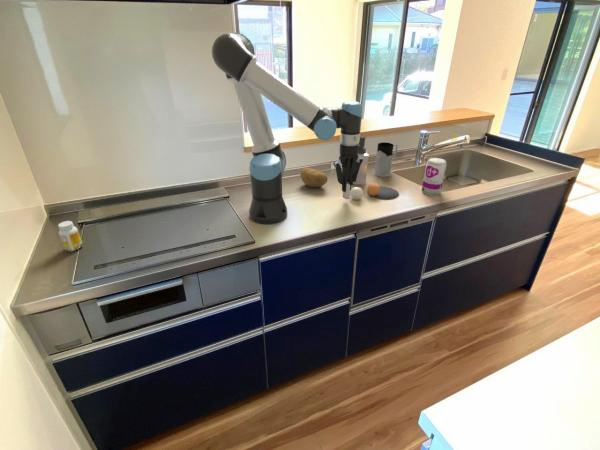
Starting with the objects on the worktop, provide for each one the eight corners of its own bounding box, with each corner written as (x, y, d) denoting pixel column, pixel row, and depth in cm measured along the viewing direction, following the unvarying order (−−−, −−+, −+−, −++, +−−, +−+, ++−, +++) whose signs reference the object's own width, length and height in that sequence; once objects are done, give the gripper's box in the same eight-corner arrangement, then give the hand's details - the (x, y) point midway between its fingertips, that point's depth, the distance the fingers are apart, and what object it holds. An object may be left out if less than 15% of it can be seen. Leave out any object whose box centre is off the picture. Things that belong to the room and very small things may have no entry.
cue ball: (362, 186, 145) (367, 195, 148) (354, 183, 149) (359, 191, 153) (353, 195, 144) (358, 203, 147) (345, 191, 149) (350, 200, 152)
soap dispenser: (363, 177, 171) (367, 133, 160) (365, 184, 164) (369, 138, 153) (350, 177, 172) (353, 133, 161) (351, 184, 164) (355, 138, 153)
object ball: (371, 189, 147) (381, 183, 149) (363, 185, 152) (373, 179, 153) (373, 199, 151) (383, 193, 152) (365, 195, 155) (375, 189, 156)
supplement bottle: (64, 254, 114) (54, 229, 110) (66, 245, 119) (56, 221, 114) (82, 250, 116) (73, 225, 111) (84, 242, 121) (75, 218, 116)
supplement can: (433, 197, 151) (440, 164, 144) (417, 191, 157) (423, 159, 149) (444, 192, 155) (451, 160, 148) (428, 186, 161) (434, 156, 153)
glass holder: (369, 173, 177) (372, 144, 169) (387, 166, 184) (390, 139, 177) (383, 178, 171) (387, 148, 163) (400, 171, 179) (405, 142, 171)
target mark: (380, 202, 147) (380, 201, 147) (361, 190, 158) (361, 189, 158) (405, 195, 152) (405, 195, 152) (385, 184, 163) (385, 184, 163)
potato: (319, 193, 155) (319, 177, 151) (296, 185, 163) (295, 169, 159) (332, 187, 161) (332, 171, 157) (309, 179, 170) (309, 164, 166)
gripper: (340, 148, 129) (337, 204, 141) (368, 143, 134) (363, 198, 146) (330, 143, 135) (328, 197, 147) (357, 138, 140) (353, 191, 152)
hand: (345, 197), depth 147 cm, fingers closed
